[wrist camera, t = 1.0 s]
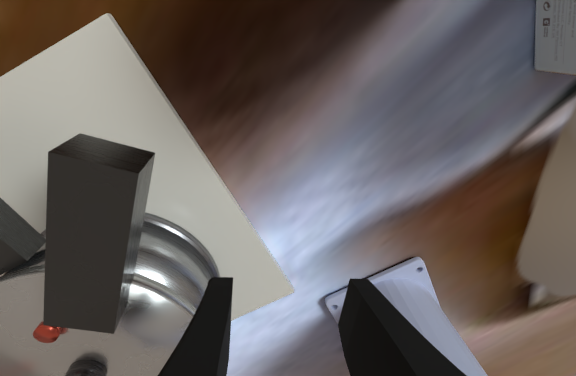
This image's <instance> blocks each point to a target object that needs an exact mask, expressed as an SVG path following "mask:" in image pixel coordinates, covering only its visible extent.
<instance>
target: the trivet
mask: <svg viewBox="0 0 576 376" xmlns="http://www.w3.org/2000/svg"><path fill="white" fill-rule="evenodd" d="M80 133H81V134H85V135H89V136H93V137H96V138H100V139H104V140H108V141H112V142H116V143H120V144H123V145H127V146H131V147H135V148H139V149H143V150H147V151H151V152H154V153H155V158H154V164H153V169H152V175H151V181H150V187H149V193H148V198H147V204H146V210H145V212H146V213H149V214H153V215H156V216H159V217H161V218H164V219H167V220H169V221H171V222H173V223H175V224H177V225H179V226H180V227H182V228H183V229H185V230H186V231H188V232H189V233H191V234H192V235H193V236H194V237H195V238H197V239H198V240H199V241H200V242H201V243H202V244H203V245H204V246H205V248H206V249H207V250H208V251H209V253H210V254H211V256H212V257H213V259H214V261H215V263H216V265H217V267H218V271H219V274H220V277H233V290H232V308H231V321H232V320H234V319H236V318H238V317H241V316H243V315H245V314H247V313H249V312H252V311H254V310H256V309H258V308H260V307H263V306H265V305H267V304H269V303H271V302H274V301H276V300H278V299H280V298H282V297H285V296H287V295H289V294H291V293H294V287H293V286H292V284H291V283H290V281H289V280H288V278H287V277H286V275H285V274H284V272H283V271H282V269H281V268H280V266H279V265H278V263H277V262H276V260H275V259H274V257H273V256H272V254H271V253H270V251H269V250H268V248H267V247H266V245H265V244H264V242H263V241H262V239H261V238H260V236H259V235H258V233H257V232H256V230H255V229H254V227H253V226H252V224H251V223H250V221H249V220H248V218H247V217H246V215H245V214H244V212H243V211H242V209H241V208H240V206H239V205H238V203H237V202H236V200H235V199H234V197H233V196H232V194H231V193H230V191H229V190H228V188H227V187H226V185H225V184H224V182H223V181H222V179H221V178H220V176H219V175H218V173H217V172H216V170H215V169H214V167H213V166H212V164H211V163H210V161H209V160H208V158H207V157H206V155H205V154H204V152H203V151H202V149H201V148H200V146H199V145H198V143H197V142H196V140H195V139H194V137H193V136H192V134H191V133H190V131H189V130H188V128H187V127H186V125H185V124H184V122H183V121H182V119H181V118H180V117H179V115H178V114H177V112H176V111H175V109H174V108H173V106H172V105H171V103H170V102H169V100H168V99H167V97H166V96H165V94H164V93H163V91H162V90H161V88H160V87H159V85H158V84H157V82H156V81H155V79H154V78H153V76H152V75H151V73H150V72H149V70H148V69H147V67H146V66H145V64H144V63H143V61H142V60H141V58H140V57H139V55H138V54H137V52H136V51H135V49H134V48H133V46H132V45H131V43H130V42H129V40H128V39H127V37H126V36H125V34H124V33H123V31H122V30H121V28H120V27H119V25H118V24H117V22H116V21H115V19H114V18H113V16H112V15H111V14H109V13H106V14H104V15H103V16H101V17H99V18H98V19H96V20H94V21H93V22H91V23H89V24H88V25H86V26H84V27H83V28H81V29H79V30H78V31H76V32H74V33H73V34H71V35H70V36H68V37H66V38H65V39H63V40H61V41H60V42H58V43H56V44H55V45H53V46H51V47H50V48H48V49H46V50H45V51H43V52H41V53H40V54H38V55H36V56H35V57H33V58H31V59H30V60H28V61H26V62H25V63H23V64H21V65H20V66H18V67H16V68H15V69H13V70H11V71H10V72H8V73H6V74H5V75H3V76H1V77H0V198H1V199H2V200H4V201H5V202H6V203H7V204H8V205H9V206H10V207H11V208H12V209H13V210H15V211H16V212H17V213H18V214H19V215H20V216H21V217H22V218H23V219H24V220H25V221H27V222H28V223H29V224H30V225H31V226H32V227H33V228H34V229H35V230H36V231H37V232H39V233H40V234H41V233H42V232H43V231H44V230H45V229H46V208H47V172H48V152H49V151H50V150H52V149H54V148H56V147H57V146H59V145H61V144H62V143H64V142H66V141H68V140H69V139H71V138H73V137H74V136H76V135H78V134H80ZM4 274H5V273H4ZM4 274H2V275H0V277H1V276H3V275H4Z"/></svg>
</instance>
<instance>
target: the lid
mask: <svg viewBox="0 0 576 376" xmlns="http://www.w3.org/2000/svg"><path fill="white" fill-rule="evenodd" d="M154 158H155V153H154V152H151V151H147V150H143V149H139V148H135V147H131V146H127V145H123V144H120V143H116V142H112V141H108V140H104V139H100V138H96V137H93V136H89V135H85V134H81V133H80V134H78V135H76V136H74V137H73V138H71V139H69V140H68V141H66V142H64V143H62V144H61V145H59V146H57V147H56V148H54V149H52V150H50V151H49V152H48V172H47V208H46V244H45V264H44V265H38V266H32V267H27V268H24V269H20V270H17V271H13V272H10V273H8V274H6V275H3V276H1V277H0V376H158V374H159V373H160V371H161V370H162V368H163V367H164V365H165V364H166V362H167V360H168V359H169V357H170V356H171V354H172V352H173V351H174V349H175V348H176V346H177V344H178V343H179V341H180V339H181V338H182V336H183V334H184V332H185V330H186V329H187V327H188V325H189V323H190V321H191V320H192V318H193V316H194V314H195V312H196V310H197V309H196V308H195V307H194V306H193V305H192V304H191V303H189V302H188V301H187V300H186V299H185V298H183V297H182V296H181V295H179V294H178V293H177V292H175V291H174V290H172V289H170V288H168V287H167V286H165V285H163V284H161V283H160V282H157V281H155V280H153V279H150V278H148V277H146V276H143V275H140V274H137V273H135V268H136V262H137V256H138V250H139V245H140V239H141V233H142V227H143V222H144V216H145V210H146V204H147V198H148V193H149V187H150V181H151V175H152V169H153V164H154Z"/></svg>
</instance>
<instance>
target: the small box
mask: <svg viewBox="0 0 576 376" xmlns="http://www.w3.org/2000/svg"><path fill="white" fill-rule="evenodd" d="M534 66H535V70H537V71H545V72H553V73H560V74H569V75H576V0H536V20H535V65H534Z"/></svg>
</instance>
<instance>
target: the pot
mask: <svg viewBox="0 0 576 376" xmlns="http://www.w3.org/2000/svg"><path fill="white" fill-rule="evenodd" d="M45 244H46V229H45V230H44V231H43V232H42V233H41V234H40V233H39V232H37V231H36V230H35V229H34V228H33V227H32V226H31V225H30V224H29V223H28V222H27V221H25V220H24V219H23V218H22V217H21V216H20V215H19V214H18V213H17V212H16V211H15V210H13V209H12V208H11V207H10V206H9V205H8V204H7V203H6V202H5V201H4V200H2V199H1V198H0V275H2V274H4V273H5V274H4V275H6V274H8V273H10V272H13V271H17V270H20V269H24V268H27V267H32V266H38V265H44V264H45ZM135 273H137V274H140V275H143V276H146V277H148V278H150V279H153V280H155V281H157V282H160V283H161V284H163V285H165V286H167V287H168V288H170V289H172V290H174V291H175V292H177V293H178V294H179V295H181V296H182V297H183V298H185V299H186V300H187V301H188V302H189V303H191V304H192V305H193V306H194V307H195V308H196V309H197V308H198V306H199V304H200V302H201V300H202V297H203V295H204V293H205V290H206V288H207V285H208V281H209V280H210V279H211V278H212V277H220V274H219V271H218V267H217V265H216V263H215V261H214V259H213V257H212V256H211V254H210V253H209V251H208V250H207V249H206V248H205V246H204V245H203V244H202V243H201V242H200V241H199V240H198V239H197V238H195V237H194V236H193V235H192V234H191V233H189V232H188V231H186V230H185V229H183V228H182V227H180V226H179V225H177V224H175V223H173V222H171V221H169V220H167V219H164V218H161V217H159V216H156V215H153V214H149V213H146V212H145V216H144V222H143V227H142V233H141V239H140V245H139V250H138V256H137V262H136V268H135Z"/></svg>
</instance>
